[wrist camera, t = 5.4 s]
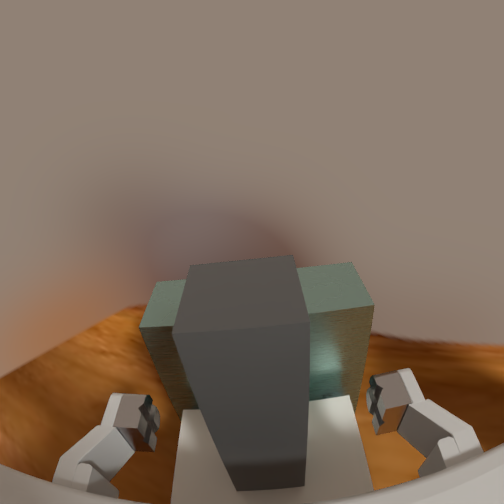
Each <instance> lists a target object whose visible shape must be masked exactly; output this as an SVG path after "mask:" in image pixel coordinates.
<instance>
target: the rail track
mask: <svg viewBox="0 0 504 504" xmlns="http://www.w3.org/2000/svg"><path fill="white" fill-rule="evenodd" d="M297 272H298V276H299V280H300V284H301V288H302V291H303V295H304V299H305V303H306V307H307V311H308V315H309V319H310V383H309V401H315V400H322V399H328V398H335V397H341V396H347V395H349V396H350V400H351V403H352V407H353V410H354V414H355V410H356V406H357V401H358V397H359V392H360V387H361V383H362V378H363V373H364V367H365V362H366V356H367V351H368V345H369V339H370V333H371V326H372V319H373V312H374V303H373V301H372V299H371V297H370V295H369V293H368V292H367V290H366V288H365V286H364V284H363V282H362V280H361V279H360V277H359V275H358V273H357V271H356V269H355V268H354V266H353V264H352V262H349V263H340V264H332V265H322V266H314V267H305V268H297ZM185 283H186V280H174V281H163V282H157V283H156V286H155V288H154V290H153V293H152V295H151V298H150V300H149V303H148V305H147V308H146V310H145V313H144V315H143V318H142V321H141V323H140V326H139V329H140V332H141V334H142V337H143V339H144V341H145V344H146V346H147V349H148V351H149V353H150V356H151V358H152V360H153V363H154V365H155V367H156V370H157V372H158V374H159V376H160V378H161V381H162V383H163V385H164V387H165V389H166V391H167V393H168V396H169V398H170V400H171V402H172V404H173V406H174V408H175V410H176V412H177V414H178V416H179V418H180V420H181V421H182V414H183V410H197V409H200V408H199V406H198V403H197V401H196V398H195V396H194V393H193V391H192V388H191V386H190V383H189V380H188V378H187V375H186V372H185V370H184V367H183V364H182V362H181V359H180V356H179V353H178V350H177V348H176V345H175V342H174V339H173V336H172V330H173V327H174V323H175V319H176V315H177V312H178V308H179V304H180V301H181V297H182V293H183V290H184V286H185Z"/></svg>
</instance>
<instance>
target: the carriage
mask: <svg viewBox="0 0 504 504" xmlns="http://www.w3.org/2000/svg"><path fill="white" fill-rule="evenodd" d="M172 336H173V339H174V342H175V345H176V348H177V350H178V353H179V356H180V359H181V362H182V364H183V367H184V370H185V372H186V375H187V378H188V380H189V383H190V386H191V388H192V391H193V393H194V396H195V398H196V401H197V403H198V406H199V408H200V409H197V410H183V414H182V421H181V427H180V434H179V441H178V449H177V456H176V464H175V471H174V479H173V487H172V495H171V504H304V503H312V502H319V501H325V500H331V499H337V498H343V497H348V496H353V495H358V494H362V493H367V492H371V491H374V489H373V485H372V481H371V476H370V472H369V468H368V464H367V460H366V456H365V452H364V448H363V444H362V440H361V437H360V433H359V429H358V425H357V422H356V418H355V414H354V410H353V407H352V403H351V400H350V396H349V395H347V396H341V397H335V398H328V399H322V400H315V401H309V383H310V319H309V315H308V311H307V307H306V303H305V299H304V295H303V291H302V288H301V284H300V280H299V276H298V272H297V268H296V265H295V261H294V257H293V255H287V256H277V257H268V258H259V259H249V260H239V261H229V262H220V263H209V264H199V265H191V266H190V269H189V272H188V276H187V279H186V283H185V286H184V290H183V293H182V297H181V301H180V304H179V308H178V312H177V315H176V319H175V323H174V327H173V330H172Z"/></svg>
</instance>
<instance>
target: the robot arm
mask: <svg viewBox="0 0 504 504" xmlns="http://www.w3.org/2000/svg"><path fill="white" fill-rule="evenodd" d="M369 383H370V386H371V387H370V388H369V389H367V395H366V397H367V406H368V410H369V412H370V413H371V414H372V415H374V417H373V420H372V423H373V426H374V430H375V433H376V435H380V434H385V433H390V432H394V431H397V432H398V433H399V434H400V435H401V436H402V437H403V438H404V439H406V440H407V441H408V442H409V443H410V444H411V445H412V446H413V447H415V448H416V449H417V450H418V451H419V452H420V453H421V454H423V455H424V456H425V457H426V460H425V461H424V463H423V464H422V465H421V467H420V468H419V470H418V473H419V476H420V478H417V479H414V480H411V481H408V482H405V483H401V484H398V485H394V486H391V487H387V488H383V489H379V490H375V491H371V492H367V493H362V494H358V495H353V496H348V497H343V498H337V499H331V500H325V501H319V502H312V503H304V504H504V443H502V444H500V445H498V446H496V447H494V448H492V449H490V450H488V451H486V452H483V449H482V447H481V445H480V443H479V440H478V438H477V436H476V434H475V432H474V430H473V427H472V426H470V425H469V424H467V423H465V422H464V421H462V420H461V419H459V418H458V417H456V416H454V415H453V414H451V413H450V412H448V411H447V410H445V409H443V408H442V407H440V406H439V405H437V404H436V403H434V402H433V401H431V400H429V399H427V400H425V398H424V396H423V394H422V392H421V389H420V387H419V385H418V383H417V381H416V379H415V377H414V375H413V373H412V371H411V369H410V368H405V369H401V370H397V371H391V372H387V373H382V374H378V375H373V376H371V377H370V381H369ZM152 401H153V400H152V398H151V396H150V395H140V394H125V393H113V394H112V395H111V396H110V398H109V401H108V404H107V407H106V410H105V413H104V416H103V419H102V422H101V425H97V426H96V427H95V428H93V429H92V430H91V431H90V432H89V433H88V434H87V435H85V436H84V437H83V438H82V439H81V440H80V441H78V442H77V443H76V444H75V445H74V446H73V447H71V448H70V449H69V450H68V451H67V452H65V453H64V454H63V455H62V456H61V457H60V459H59V462H58V465H57V468H56V471H55V474H54V477H53V480H52V482H49V481H46V480H43V479H40V478H37V477H34V476H31V475H28V474H25V473H22V472H20V471H17V470H14V469H12V468H9V467H7V466H4V465H2V464H0V504H151V503H143V502H136V501H130V500H124V499H118V496H119V490H118V489H117V488H116V487H115V486H113V485H112V484H111V483H110V481H111V479H112V478H113V477H114V476H115V475H116V474H117V472H118V471H119V470H120V469H121V468H122V467H123V465H124V464H125V463H126V462H127V461H128V460H129V458H130V457H131V456H132V455H133V454H134V453H135V451H143V452H155V447H156V441H157V437H156V436H155V434H154V433H155V432H156V431H157V430H158V429H159V425H160V415H159V411H158V409H157V407H156V406H154V405H153V404H152Z"/></svg>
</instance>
